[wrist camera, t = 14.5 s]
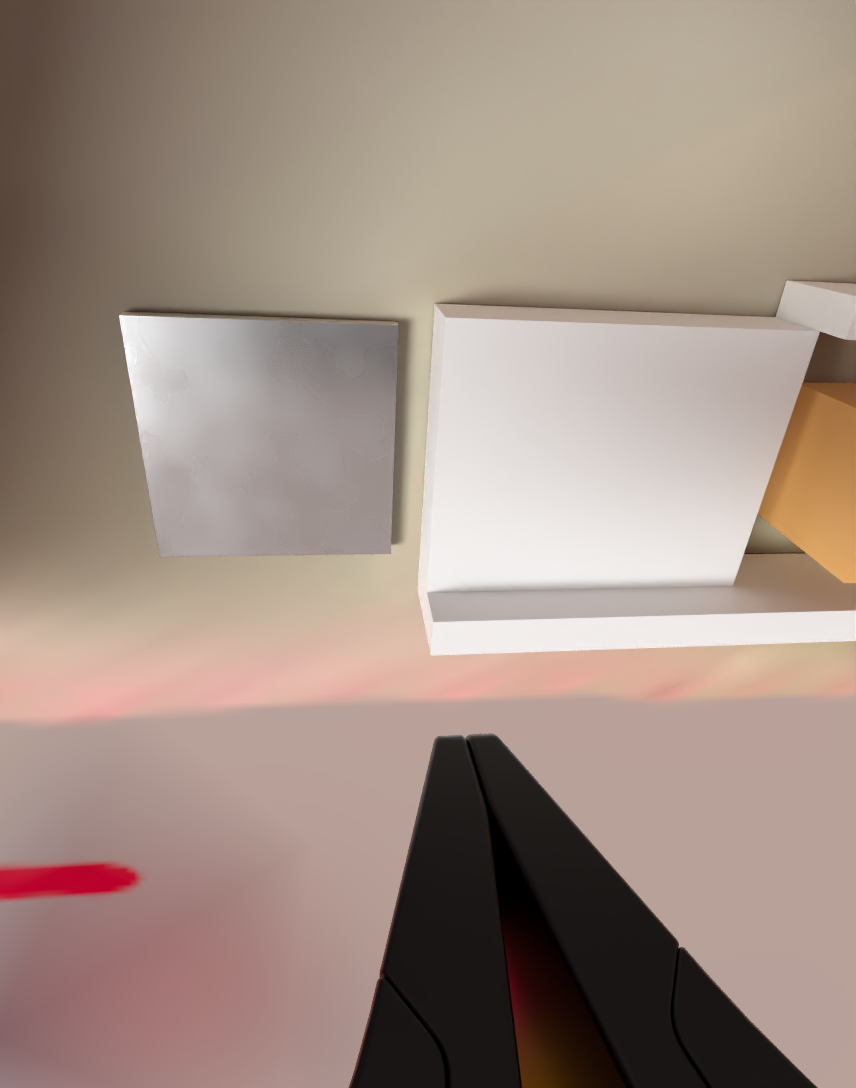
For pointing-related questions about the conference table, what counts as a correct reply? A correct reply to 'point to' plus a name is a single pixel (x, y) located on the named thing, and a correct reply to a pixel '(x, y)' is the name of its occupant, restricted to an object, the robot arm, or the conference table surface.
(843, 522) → the orange cube
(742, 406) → the white box
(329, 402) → the plate
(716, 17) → the conference table surface
